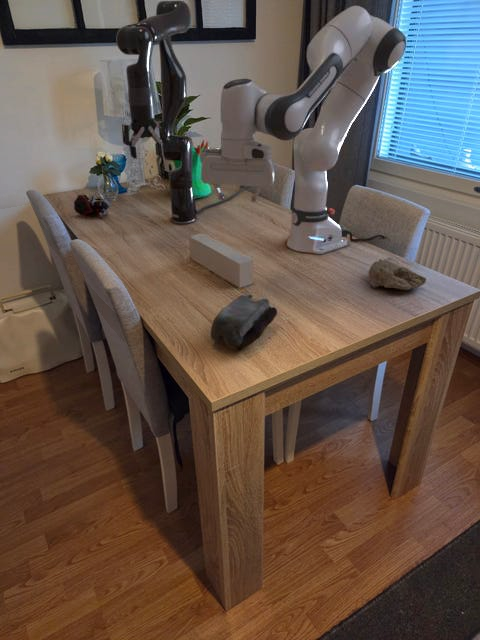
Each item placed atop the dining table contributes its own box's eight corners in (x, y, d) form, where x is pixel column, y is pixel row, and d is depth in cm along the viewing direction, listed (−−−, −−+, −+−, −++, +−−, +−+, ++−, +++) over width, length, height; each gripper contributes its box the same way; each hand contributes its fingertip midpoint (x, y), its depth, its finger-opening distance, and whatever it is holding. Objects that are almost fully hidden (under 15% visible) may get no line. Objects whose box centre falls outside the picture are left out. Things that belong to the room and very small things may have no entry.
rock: (246, 362, 102) (246, 333, 98) (204, 348, 107) (203, 320, 103) (278, 325, 116) (280, 298, 112) (240, 314, 121) (241, 288, 116)
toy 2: (167, 190, 223) (163, 137, 210) (207, 188, 227) (205, 135, 214) (172, 202, 206) (167, 145, 193) (214, 199, 210) (213, 143, 197)
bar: (190, 258, 152) (189, 236, 148) (203, 254, 155) (202, 233, 151) (239, 288, 134) (239, 263, 130) (252, 283, 137) (253, 259, 132)
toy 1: (101, 187, 180) (72, 186, 186) (93, 207, 178) (64, 205, 183) (117, 205, 191) (89, 203, 196) (109, 223, 188) (82, 221, 194)
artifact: (387, 301, 128) (428, 294, 133) (394, 279, 124) (436, 272, 129) (353, 270, 142) (391, 265, 147) (358, 249, 138) (397, 245, 142)
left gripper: (124, 105, 133) (131, 161, 142) (167, 102, 140) (171, 156, 149) (115, 103, 138) (122, 157, 147) (156, 100, 145) (161, 152, 154)
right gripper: (196, 149, 116) (198, 201, 124) (274, 152, 113) (271, 206, 121) (202, 145, 122) (204, 195, 129) (276, 148, 119) (274, 199, 126)
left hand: (146, 156), depth 148 cm, fingers open, 8 cm apart
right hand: (237, 200), depth 125 cm, fingers open, 8 cm apart
